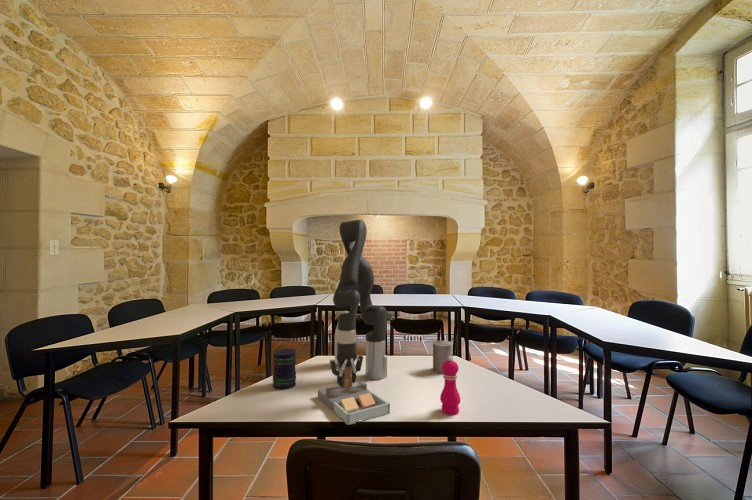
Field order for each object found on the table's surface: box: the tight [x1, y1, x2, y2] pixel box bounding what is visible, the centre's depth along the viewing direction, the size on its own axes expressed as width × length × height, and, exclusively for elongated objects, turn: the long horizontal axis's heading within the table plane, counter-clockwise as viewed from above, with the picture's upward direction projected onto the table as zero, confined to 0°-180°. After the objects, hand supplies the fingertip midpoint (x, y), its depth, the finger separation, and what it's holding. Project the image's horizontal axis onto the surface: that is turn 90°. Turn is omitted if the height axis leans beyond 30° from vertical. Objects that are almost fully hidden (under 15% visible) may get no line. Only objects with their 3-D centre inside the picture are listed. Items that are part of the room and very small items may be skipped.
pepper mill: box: [439, 356, 461, 416], centre depth 127 cm, size 7×7×20 cm
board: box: [317, 384, 374, 413], centre depth 137 cm, size 17×16×3 cm
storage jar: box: [272, 348, 297, 391], centre depth 152 cm, size 10×10×15 cm
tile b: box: [340, 397, 359, 413], centre depth 126 cm, size 5×5×2 cm
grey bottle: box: [334, 310, 350, 365], centre depth 180 cm, size 10×10×28 cm
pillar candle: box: [432, 340, 454, 375], centre depth 171 cm, size 10×10×15 cm
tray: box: [333, 392, 391, 426], centre depth 125 cm, size 17×11×4 cm, turn 121°
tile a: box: [358, 393, 376, 409], centre depth 130 cm, size 5×5×2 cm
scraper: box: [325, 366, 368, 399], centre depth 137 cm, size 16×4×10 cm, turn 121°
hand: (346, 383), depth 136 cm, fingers open, 5 cm apart
